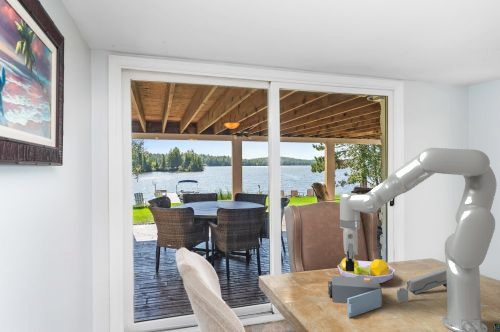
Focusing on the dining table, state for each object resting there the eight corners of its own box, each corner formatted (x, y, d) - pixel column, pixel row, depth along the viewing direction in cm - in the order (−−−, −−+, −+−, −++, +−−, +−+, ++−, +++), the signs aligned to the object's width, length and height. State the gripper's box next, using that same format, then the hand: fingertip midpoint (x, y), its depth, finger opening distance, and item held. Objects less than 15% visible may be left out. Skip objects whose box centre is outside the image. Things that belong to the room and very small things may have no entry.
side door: (384, 306, 123) (383, 289, 124) (351, 318, 114) (350, 299, 114) (380, 305, 125) (380, 288, 125) (347, 316, 115) (347, 298, 116)
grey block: (381, 306, 125) (381, 286, 125) (328, 301, 130) (328, 282, 130) (377, 294, 136) (377, 276, 137) (328, 291, 141) (328, 273, 142)
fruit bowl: (357, 268, 175) (357, 248, 175) (406, 281, 153) (405, 257, 153) (324, 279, 158) (323, 256, 158) (373, 295, 136) (372, 268, 137)
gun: (463, 287, 140) (458, 266, 140) (414, 305, 136) (409, 282, 136) (459, 285, 142) (454, 264, 142) (410, 302, 138) (405, 280, 138)
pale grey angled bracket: (399, 302, 128) (399, 282, 129) (397, 300, 130) (396, 281, 130) (415, 300, 130) (414, 281, 130) (412, 299, 131) (411, 279, 132)
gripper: (361, 227, 116) (361, 277, 116) (358, 221, 131) (358, 266, 130) (340, 226, 118) (340, 276, 118) (339, 220, 132) (339, 264, 132)
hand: (349, 270), depth 124 cm, fingers closed
